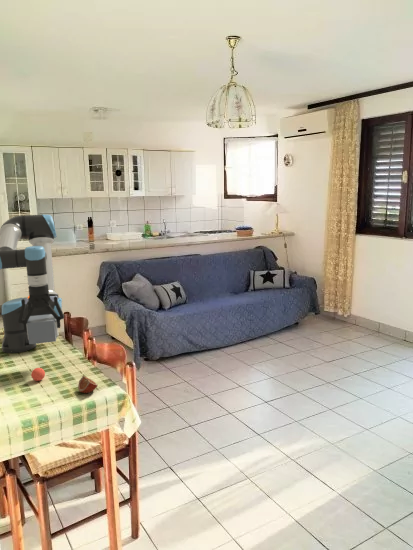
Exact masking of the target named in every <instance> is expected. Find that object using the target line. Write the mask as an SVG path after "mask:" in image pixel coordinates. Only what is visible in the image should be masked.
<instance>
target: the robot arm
mask: <svg viewBox="0 0 413 550" xmlns="http://www.w3.org/2000/svg"><path fill="white" fill-rule="evenodd" d="M55 238H57V231H56V226H55V222H54V218H53V216H52V215H50V214H26V215H22V214H21V215H17V216H13V217H11V218H8V219H7V220H6V221H4V222H3V223H2V225H1V226H0V270H7V269H18V268H26V277H27V285H29V286H28V296H29V298H28V297H19V298H18V297H17V298H14V299H10V300H7V301H5V302H4V303H2V305H1V316H2V324H3V333H4V334H3V339H2V343H1V351H2V352H3V353H5V354H6V353H7V354H17V353H23V352H28V351H30V350H34V348H36V347H37V343H36V344H29V339H28V330H27V322H28V319H29V317H30V316H37V315H48V314H52V315H53V316H54V318H55V319H56V320H55V329H56V337H57V338H59V336H60V335H59V329H60V328H61V321H62V320H63V319H65V314H64V313H63V309H62V307H63V303H62V302H63V299H62V298H61V297H59V294H58V293H57V292H56V291H55V279H54V278H55V277H54V276H55V275H54V266H53V265H54V264H53V254H52V244H53V243H54V241H55ZM20 240H28V243H29V244H30V245H31V246H27V247H25V248H24V249H23V248H22V249H17V248H18V243H19V241H20Z"/></svg>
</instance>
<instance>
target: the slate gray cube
mask: <svg viewBox="0 0 413 550" xmlns="http://www.w3.org/2000/svg"><path fill="white" fill-rule="evenodd" d="M55 320H56V319H55V318H54V316H53V315H52V314H48V315H37V316H30V317H29V319H28V322H27V330H28V339H29V344H36V345H37V344H43V343H45V344H46V343H54V342H55V343H56V342H57V338H58V337H56V329H55Z"/></svg>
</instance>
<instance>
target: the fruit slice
mask: <svg viewBox="0 0 413 550" xmlns="http://www.w3.org/2000/svg"><path fill="white" fill-rule="evenodd" d="M97 387H98V384H97V383H96V381H94V380H92V379H91V378H89V377H86V376H84V375H82V376H81V377H80V379H79V381H78V385H77V388H78V389H77V390H78V391H79V392H80V393H82V394H90V393H92V392H93V391H94V390H95V389H96V388H97Z"/></svg>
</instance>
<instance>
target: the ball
mask: <svg viewBox="0 0 413 550" xmlns="http://www.w3.org/2000/svg"><path fill="white" fill-rule="evenodd" d="M30 373H31V374H30V375H31V379H32V380H34V381H35V382H39V381H42V380H43V379H44V378H45V377H46V372H45V370H44V369H43V368H42V367H36V368H34V369H33V370H32V371H31V372H30Z"/></svg>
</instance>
